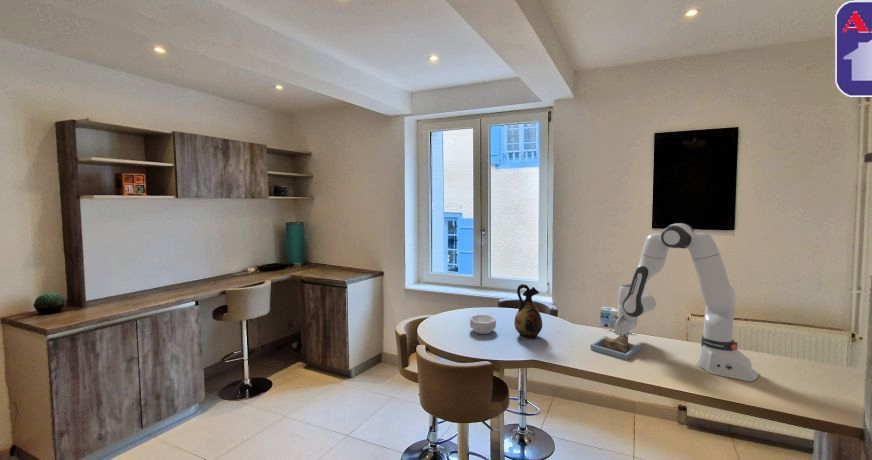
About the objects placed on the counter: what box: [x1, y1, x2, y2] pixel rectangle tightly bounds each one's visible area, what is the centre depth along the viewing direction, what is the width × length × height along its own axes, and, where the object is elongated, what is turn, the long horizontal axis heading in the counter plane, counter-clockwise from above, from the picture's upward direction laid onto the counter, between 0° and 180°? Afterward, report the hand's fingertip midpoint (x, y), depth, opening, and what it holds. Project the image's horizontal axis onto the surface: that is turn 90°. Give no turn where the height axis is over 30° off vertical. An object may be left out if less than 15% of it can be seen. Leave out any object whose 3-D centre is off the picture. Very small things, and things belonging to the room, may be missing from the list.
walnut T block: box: [602, 335, 631, 354], centre depth 212 cm, size 12×12×4 cm
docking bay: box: [590, 335, 641, 361], centre depth 208 cm, size 18×17×2 cm
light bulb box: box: [599, 306, 619, 330], centre depth 242 cm, size 11×7×11 cm, turn 62°
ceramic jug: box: [513, 283, 543, 340], centre depth 226 cm, size 17×15×30 cm
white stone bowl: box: [469, 314, 497, 335], centre depth 237 cm, size 15×15×8 cm
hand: (625, 338), depth 217 cm, fingers closed
